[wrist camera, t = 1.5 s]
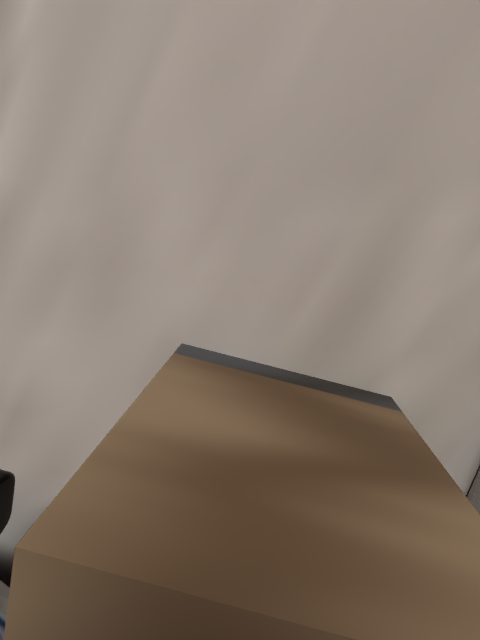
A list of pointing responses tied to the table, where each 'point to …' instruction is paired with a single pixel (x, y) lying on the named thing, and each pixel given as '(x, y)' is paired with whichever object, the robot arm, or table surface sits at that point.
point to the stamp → (252, 520)
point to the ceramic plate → (3, 607)
